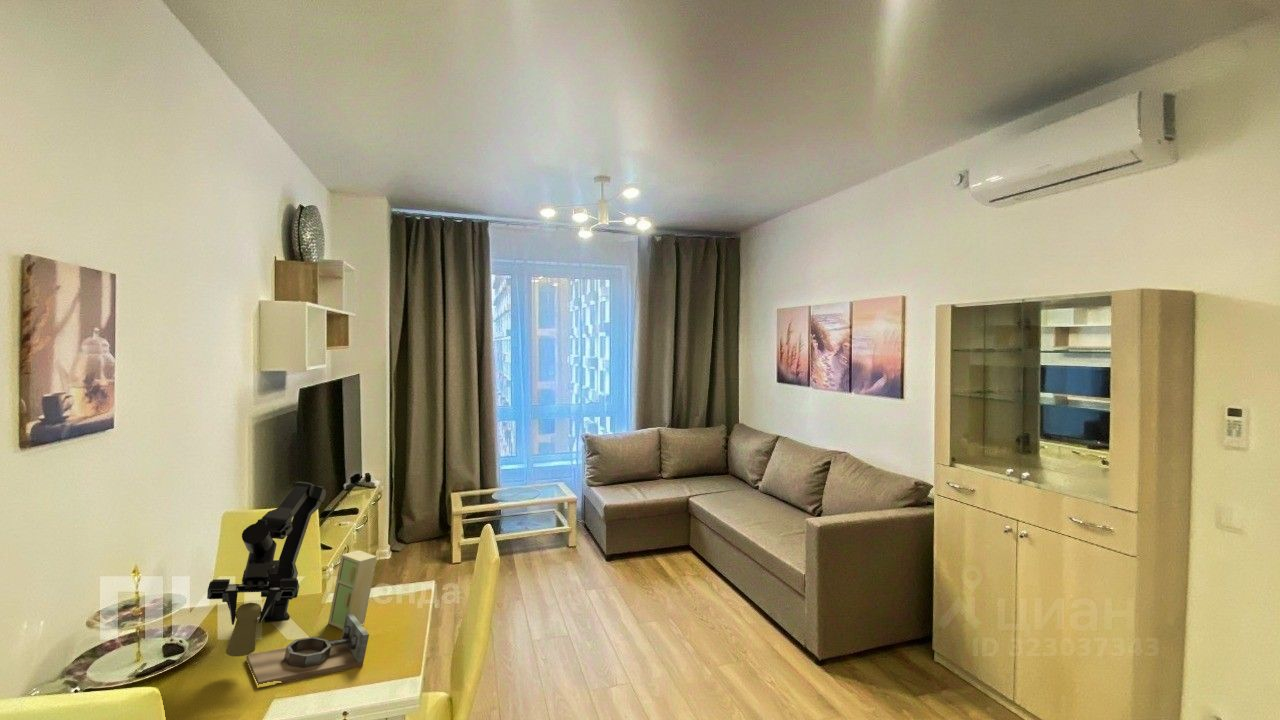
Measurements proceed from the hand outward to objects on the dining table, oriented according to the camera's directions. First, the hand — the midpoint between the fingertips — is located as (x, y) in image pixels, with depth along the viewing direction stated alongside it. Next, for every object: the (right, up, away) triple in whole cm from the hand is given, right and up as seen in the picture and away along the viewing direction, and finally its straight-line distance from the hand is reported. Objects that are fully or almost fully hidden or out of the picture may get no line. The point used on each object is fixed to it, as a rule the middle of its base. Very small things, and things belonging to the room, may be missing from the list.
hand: (246, 623), depth 136 cm
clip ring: (+11, -14, +13) cm, 22 cm away
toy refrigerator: (+6, -16, +34) cm, 38 cm away
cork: (-2, -7, +1) cm, 7 cm away
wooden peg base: (+8, -15, +10) cm, 20 cm away
